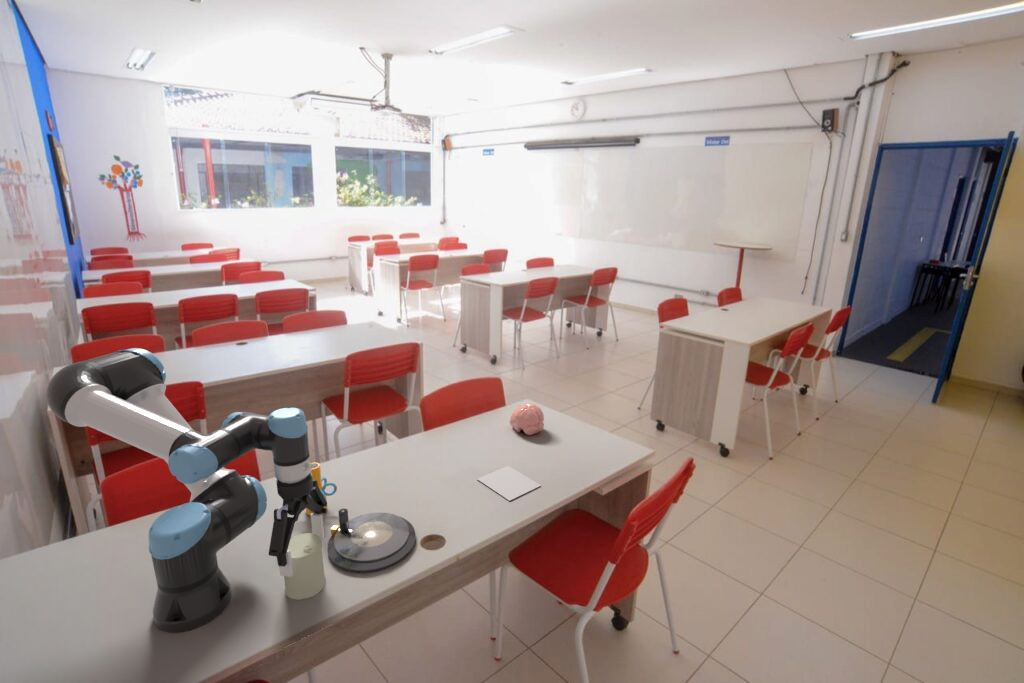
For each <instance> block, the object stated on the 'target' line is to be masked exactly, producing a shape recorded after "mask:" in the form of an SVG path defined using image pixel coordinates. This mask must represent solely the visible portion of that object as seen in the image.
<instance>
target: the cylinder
mask: <svg viewBox="0 0 1024 683" xmlns="http://www.w3.org/2000/svg"><path fill="white" fill-rule="evenodd" d="M310 464H311V473H312V479H313V480H317V483H318V487H319V489H320V491H321V493H322V494H323V496H324V498H325V499H326V501H327V502H328V499H327V496H328V497H331V496H333V495H334V494H336V492H337V491H338V488H337V487H338V486H337V485H336V483H333V482H328V481H327V480H328V479H327V478H326V477H324V476H323V477H322V472H321V464H320V463H319V462H310ZM323 483H324V484H323ZM328 486H332V487H333V491H331V492H327V491H326V488H327V487H328ZM309 496H310V494H309ZM310 497H311V496H310ZM324 508H326V509H327V510H328V505H327V506H326V507H325V506H324ZM305 512H306V515H308V516H309V517H311V514H312V513H314V512H312V511H311V510H309V509H308V508H305ZM323 514H324V513H322V515H323Z"/></svg>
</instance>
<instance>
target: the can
mask: <svg viewBox="0 0 1024 683" xmlns="http://www.w3.org/2000/svg"><path fill="white" fill-rule="evenodd" d="M322 542H323V539H321V538H320V537H319V536H318V535H316V534H313V533H312V532H311V533H310V532H305V533H300V534H296V535H293V536H291V539H290V542H289V546H288V550H290V554H291V561H292V569H293V575H292V577H288V576H283V578H284V579H283V580H284V593H285V595H286V596H287V597H288V598H290V599H291V600H299V601H300V600H306V599H310V598H312V597H314V596H315V595H317V594H319V593H320V592H322V590H323V589H324V587H325V586H326V580H327V579H326V577H325V576H326V575H325V569H324V568H325V567H324V560H323V559H324V558H323V557H324V556H323V546H322Z"/></svg>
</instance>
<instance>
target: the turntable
mask: <svg viewBox="0 0 1024 683" xmlns="http://www.w3.org/2000/svg"><path fill="white" fill-rule="evenodd" d="M401 517H402V516H399V515H396V514H394V513H389V512H370V513H365V514H362V515H359V516H356V517H354V518H352V519H350V520H349V511H348V509H347V508H341V509H339V510H338V522H339V524H338V526H339V527H340V528H339V529H338V531H337V532H336V534H335V537H334V547H335V551H336V553H337V554H338V555H339V556H340V557H341V558H343V559H345V560H347V561H350V562H354V563H372V562H378V561H381V560H384V559H387V558H389V557H391V556H393V555H395V554H396V553H398V552H399V551H400V550H401V549H402V548H403V547H404V546H405V545H406V543H407V541H408V538H409V527H408V525H407V523H406V522H405V521H404V520H403V519H402V518H403V517H402V518H401Z"/></svg>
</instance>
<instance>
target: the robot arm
mask: <svg viewBox="0 0 1024 683" xmlns="http://www.w3.org/2000/svg"><path fill="white" fill-rule="evenodd" d="M164 370H165V367H164V365H163V363H162V362H161V360H160V359H159V358H158V356H156V355H155V354H154V353H152V352H151V351H149V350H147V349H143V348H139V347H132V348H127V349H120V350H119V349H118V350H115V351H113V352H110V353H108V354H104V355H100V356H96V357H93V358H90V359H86V360H81V361H77V362H74V363H70V364H68V365H66V366H64V367H62V368H61V369H59V370H58V371H57V372H56V373H55V374H54V375H53V376H52V377H51V378H50V381H49V382H48V383H47V384H48V385H47V387H46V390H45V391H46V393H45V397H46V403H47V406H48V407H49V409H50V411H51V412H52V413H53V414H54V415H55V416H56V417H57V418H59V419H60V420H62V421H63V422H65V423H67V424H70V425H72V426H74V427H79V428H83V427H88V428H92V429H94V430H96V431H98V432H101V433H103V434H105V435H107V436H111V437H112V438H114V439H117V440H118V441H122V442H124V443H126V444H128V445H130V446H133V447H135V448H137V449H139V450H142V451H144V452H147V453H149V454H151V455H152V456H155V457H157V458H159V459H162V460H164V461H165V462H166V463H167V465H168V466H167V467H168V469H169V472H170V473H171V474H172V476H173V477H176V480H177V481H178V482H180V483H183V484H184V486H185V487H186V488H187V489H188V491H190V494H191V495H190V499H189V502H186V503H182V504H181V505H179V506H178V505H176V506H174V507H172V508H170V509H168V510H166V511H164V512H163V513H162V514H161V515H159V516H158V517H157V518H156V519H155V520H153V522H152V524H151V526H150V528H149V530H148V551H149V554H150V556H151V560H152V566H153V570H154V576H155V579H156V584H157V589H156V590H157V591H156V594H155V599H154V604H153V607H152V615H153V622H154V624H155V626H156V627H157V628H158V629H160V630H161V631H164V632H168V633H180V632H186V631H190V630H193V629H196V628H199V627H201V626H204V625H206V624H207V623H209V622H211V621H212V620H214V619H215V618H217V617H218V616H219V615H220V614H221V613H222V612H223V611H225V609H226V608H227V607H228V605H229V604H230V601H231V599H232V590H231V584H230V582H229V580H228V578H227V577H226V575H224V573H223V571H222V570H221V569H220V567H219V564H218V557H217V553H218V552H219V551H220V550H221V549H223V548H224V547H226V545H228V544H229V543H231V542H232V541H233V540H235V539H237V537H239V536H240V535H241V534H243V532H245V531H247V530H248V529H250V528H251V527H252V526H254V525H255V524H256V522H258V520H260V519H261V518H262V517H263V516H264V514H265V512H266V510H267V506H268V505H267V504H268V503H267V502H268V497H267V493H266V490H265V488H264V486H263V485H262V483H261V482H260V481H259V479H257V478H256V477H254V476H251V475H247V474H246V475H241V474H239V473H238V471H237V470H236V469H228V468H225V466H227V465H229V464H230V463H233V462H234V461H236V460H237V459H239V458H242V457H243V456H244V455H246V454H247V453H250V452H251V451H253V450H255V449H257V450H262V451H269V452H270V451H271V453H272V460H273V467H274V468H273V469H274V476H275V479H276V480H275V482H276V483H275V484H276V489H277V490H276V491H277V495H278V496H279V497H280V498H281V499H282V507H280V508H275V509H274V510H273V523H272V524H273V525H272V531H271V536H270V543H269V550H268V556H269V557H276V560H277V561H276V562H277V566H278V568H279V569H278V571H279V576H282V577H284V576H288V577H292V575H293V569H292V561H291V554H290V550H288V546H289V542H290V539H291V537H292V534H293V532H294V528H295V524H296V522H297V521H298V520H299V517H300V515H301V514H302V512H303V511H304V510H306V508H308V509H309V510H311V511H312V512H314V513H312V514H311V516H310V521H311V522H310V524H311V531H312V532H311V533H312V534H316V535H318V536H319V537H320V538H321V540H324V538H325V536H326V535H325V528H324V518H323V517H324V516H323V514H326V513H327V512H328V508H327V509H326V508H324V506H325V507H326V506H327V507H328V500H327V501H326V499H325V498H324V496H323V494H322V493H321V491H320V489H319V487H318V483H317V480H313V479H312V473H311V464H310V463H311V457H310V448H309V447H310V446H309V436H308V434H309V433H308V425H307V420H306V415H305V412H304V411H303V410H302V409H301V408H298V407H283V408H278V409H276V410H273V411H272V412H271V413H269V415H267V414H260V413H254V412H249V411H248V412H247V411H235V412H232V413H230V414H229V415H227V417H226V419H225V420H223V421H222V425H221V427H219V428H218V429H214V431H212V432H209V433H207V434H205V433H203V432H200V431H197V430H195V429H193V428H192V426H190V424H189V423H188V421H186V419H185V418H184V416H183V415H181V413H180V412H179V411H178V409H177V408H176V407H175V406H174V405H173V403H172V402H171V401H170V400H169V399H168V398H167V396H166V395H165V393H166V390H167V385H166V384H165V382H166V379H167V374H166V373H167V372H166V371H164ZM309 494H310V496H311V497H310V496H309ZM322 513H323V514H322Z"/></svg>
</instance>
